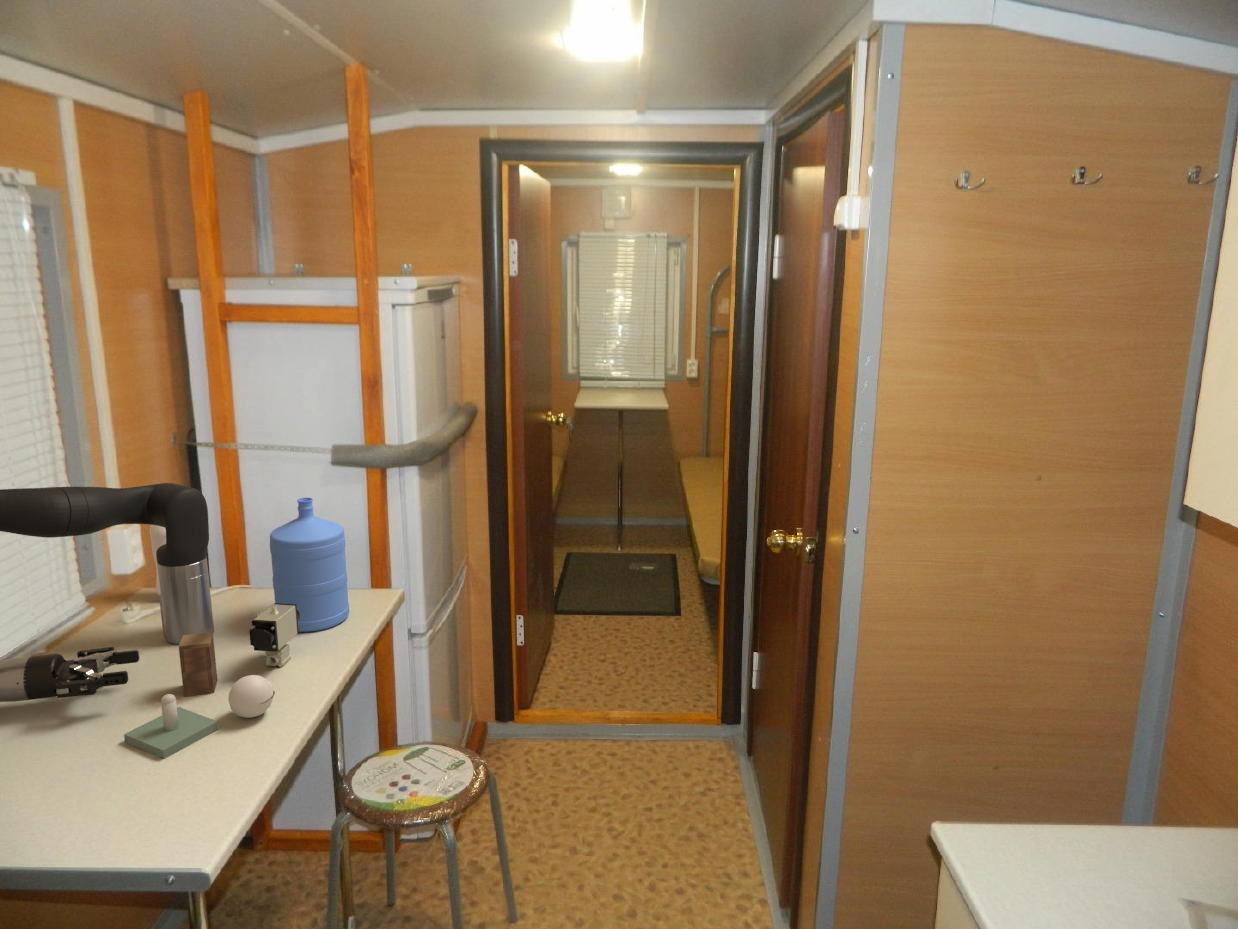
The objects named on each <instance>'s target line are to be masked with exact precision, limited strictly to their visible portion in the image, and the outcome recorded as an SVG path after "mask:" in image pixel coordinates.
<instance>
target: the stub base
mask: <svg viewBox="0 0 1238 929" xmlns="http://www.w3.org/2000/svg"><path fill="white" fill-rule="evenodd" d="M160 706H161V715H159V716H158V717H156V718H154V719H151V720H150V721H148V722H146V723H144V724H142V725H139V726H138V727H137V726H136V728H134V729H132V730H130V731H127V732H126V733H123V736H124V743H126V744H128V745H130V746H133V747H136V748H138V749H140V750H142V751H145V752H148V753H150V754H152V755H155V756H156V757H159V758H162V759H166V758H169V757H170V756H173V755H174V754H175V753H177V752H179V751H181V750H183V749H185V748H187V747H189V746H190V745H192V744H194V743H195V742H197V741H199V740H201V739H203V738H206V737H207V736H208V735H210V734H212V733H214V732H216V731H217V730H219V721H218V720H215V719H213V718H210V717H207V716H204V715H202V714H198V713H197V712H193V711H191V710H188V709H185V708H183V707H180V706H178V705H177V699H176V696H175V695H174V694H172V693H167V694H165V695H163V696H162V697H161V699H160ZM177 706H178V707H177Z"/></svg>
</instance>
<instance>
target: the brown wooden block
mask: <svg viewBox="0 0 1238 929" xmlns="http://www.w3.org/2000/svg"><path fill="white" fill-rule="evenodd" d="M214 642H215V640H214V633H213V632H208V633H199V634H189V635H183V637H182V639H181V642H180V644H178V655H179V661H180V662H179V663H180V672H181V679H182V680H181V682H182V689H183V690H182V691H183V697H191V696H198V695H206V694H214V693H215V691H216V686H217V683H218V681H219V680H218V673H217V672H218V670H217V662H216V652H215V643H214Z"/></svg>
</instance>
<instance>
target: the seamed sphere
mask: <svg viewBox="0 0 1238 929" xmlns="http://www.w3.org/2000/svg"><path fill="white" fill-rule="evenodd" d="M270 680H271V677H270V678H269V680H268V679H267V678H266V677H264V676H262V675H258V674H251V675H246V676H243V677H241V678H239V679H238V680H237V681H236V682H234V683H233V685H232V686H231V689H230V690H229V693H228V699H227V700H228V704H229V707H230V710H232V712H233V713H234V714H235V715H236V716H239V717H242V718H247V719H249V718H250V719H251V718H255V717H258V716H261V715H263V714H264V713H266V711H267V710H268V709H269V708H270V707H271V705H272V703H273V701H274V696H275V691H274V689H273V686H272V684H271V683H270Z"/></svg>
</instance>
